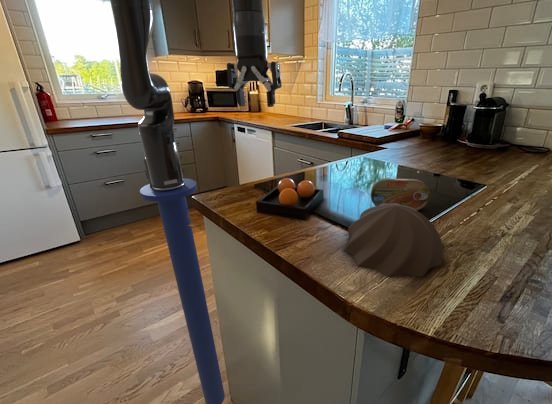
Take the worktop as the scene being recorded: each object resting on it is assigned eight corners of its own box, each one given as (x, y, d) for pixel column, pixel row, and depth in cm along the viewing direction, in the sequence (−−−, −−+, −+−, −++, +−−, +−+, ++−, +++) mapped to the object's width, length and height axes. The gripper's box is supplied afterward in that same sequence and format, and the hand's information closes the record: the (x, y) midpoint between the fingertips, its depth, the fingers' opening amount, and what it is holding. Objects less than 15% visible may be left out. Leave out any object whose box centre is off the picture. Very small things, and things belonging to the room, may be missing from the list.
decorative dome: (424, 292, 50) (433, 241, 46) (326, 254, 61) (327, 209, 57) (453, 243, 64) (462, 200, 60) (370, 219, 75) (372, 181, 71)
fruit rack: (256, 212, 79) (254, 189, 77) (280, 193, 91) (279, 173, 89) (305, 220, 75) (304, 196, 72) (323, 199, 87) (323, 178, 84)
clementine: (272, 198, 76) (286, 191, 74) (280, 189, 80) (293, 182, 78) (283, 213, 78) (297, 207, 75) (290, 203, 82) (304, 197, 79)
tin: (369, 209, 80) (372, 179, 77) (369, 204, 83) (371, 176, 80) (427, 212, 78) (432, 182, 75) (425, 207, 81) (430, 178, 78)
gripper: (284, 35, 72) (287, 105, 78) (234, 38, 76) (240, 104, 83) (269, 32, 65) (273, 108, 72) (215, 35, 70) (224, 107, 77)
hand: (256, 106), depth 77 cm, fingers open, 8 cm apart
